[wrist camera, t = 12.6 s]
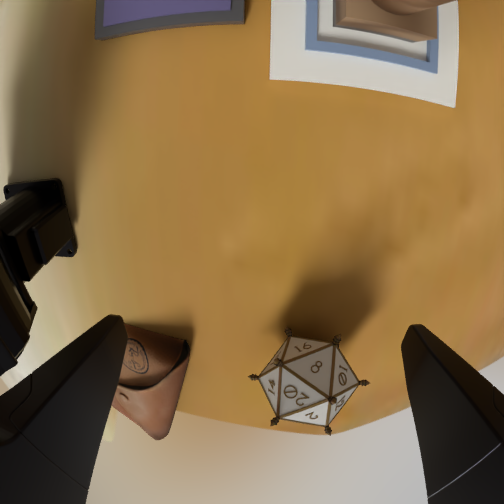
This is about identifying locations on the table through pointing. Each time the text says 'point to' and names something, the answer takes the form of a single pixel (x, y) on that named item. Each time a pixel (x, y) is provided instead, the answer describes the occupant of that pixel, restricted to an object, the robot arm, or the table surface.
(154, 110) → the table surface
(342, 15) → the stamp
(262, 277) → the table surface
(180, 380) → the sunglasses case
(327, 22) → the print card
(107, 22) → the ink pad
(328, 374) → the game die
